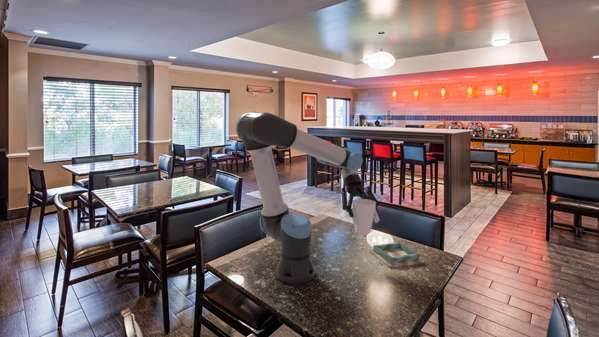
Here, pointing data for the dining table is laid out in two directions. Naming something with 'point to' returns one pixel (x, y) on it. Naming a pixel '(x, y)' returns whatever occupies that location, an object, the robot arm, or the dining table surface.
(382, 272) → the dining table surface
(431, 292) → the dining table surface
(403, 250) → the plate
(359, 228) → the foam cup
